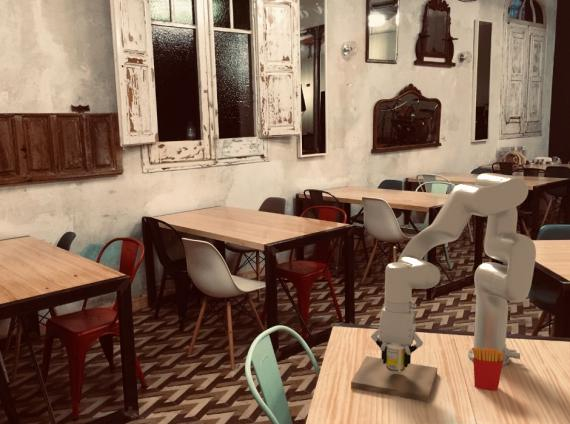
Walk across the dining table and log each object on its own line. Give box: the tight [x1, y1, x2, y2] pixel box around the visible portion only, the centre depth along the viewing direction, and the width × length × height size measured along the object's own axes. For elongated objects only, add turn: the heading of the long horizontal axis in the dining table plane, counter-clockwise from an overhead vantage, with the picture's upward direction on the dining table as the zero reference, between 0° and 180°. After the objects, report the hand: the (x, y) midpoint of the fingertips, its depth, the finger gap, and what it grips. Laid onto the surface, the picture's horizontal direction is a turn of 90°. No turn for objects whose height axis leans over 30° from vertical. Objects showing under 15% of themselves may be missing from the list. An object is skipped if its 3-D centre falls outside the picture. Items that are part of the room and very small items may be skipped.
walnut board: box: [350, 355, 438, 404], centre depth 165 cm, size 22×18×2 cm
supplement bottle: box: [386, 343, 406, 373], centre depth 164 cm, size 6×6×10 cm
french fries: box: [471, 347, 503, 392], centre depth 160 cm, size 8×4×12 cm, turn 71°
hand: (395, 363), depth 164 cm, fingers closed on supplement bottle, 5 cm apart
